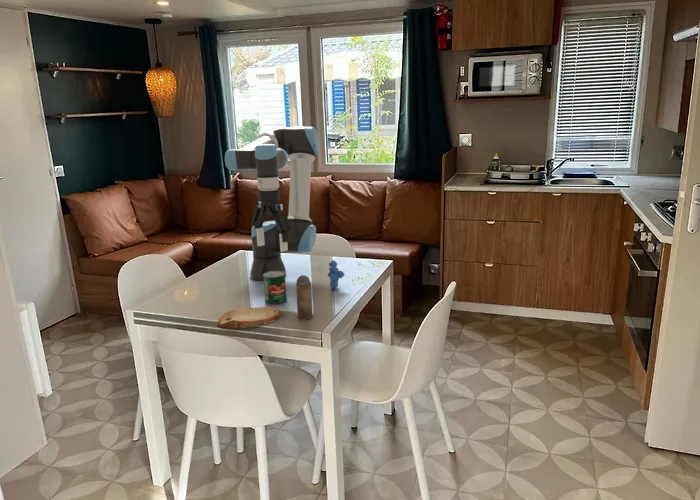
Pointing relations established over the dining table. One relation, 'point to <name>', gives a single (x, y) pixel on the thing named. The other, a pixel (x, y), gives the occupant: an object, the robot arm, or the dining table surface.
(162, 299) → the dining table surface
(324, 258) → the dining table surface
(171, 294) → the dining table surface
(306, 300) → the walnut pepper mill
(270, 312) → the bread slice
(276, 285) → the canned tomato
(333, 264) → the grapes
